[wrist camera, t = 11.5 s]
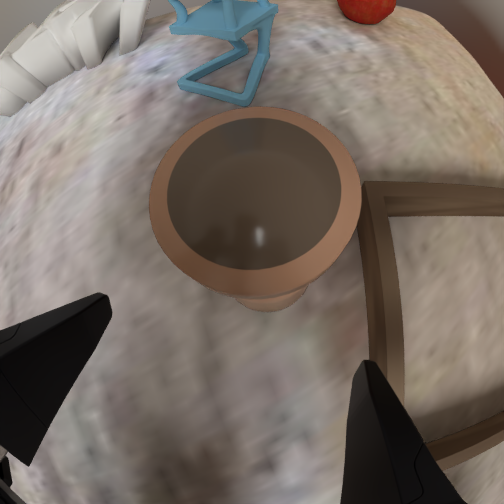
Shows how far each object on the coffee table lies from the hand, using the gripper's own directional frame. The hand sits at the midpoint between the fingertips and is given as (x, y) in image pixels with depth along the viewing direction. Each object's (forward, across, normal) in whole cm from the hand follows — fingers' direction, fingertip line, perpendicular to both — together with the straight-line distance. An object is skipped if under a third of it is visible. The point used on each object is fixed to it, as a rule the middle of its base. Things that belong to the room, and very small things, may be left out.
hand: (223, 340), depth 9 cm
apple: (+34, -6, -23) cm, 41 cm away
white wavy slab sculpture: (+26, +36, -15) cm, 46 cm away
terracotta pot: (+9, 0, +2) cm, 9 cm away
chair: (+21, +7, -10) cm, 25 cm away
